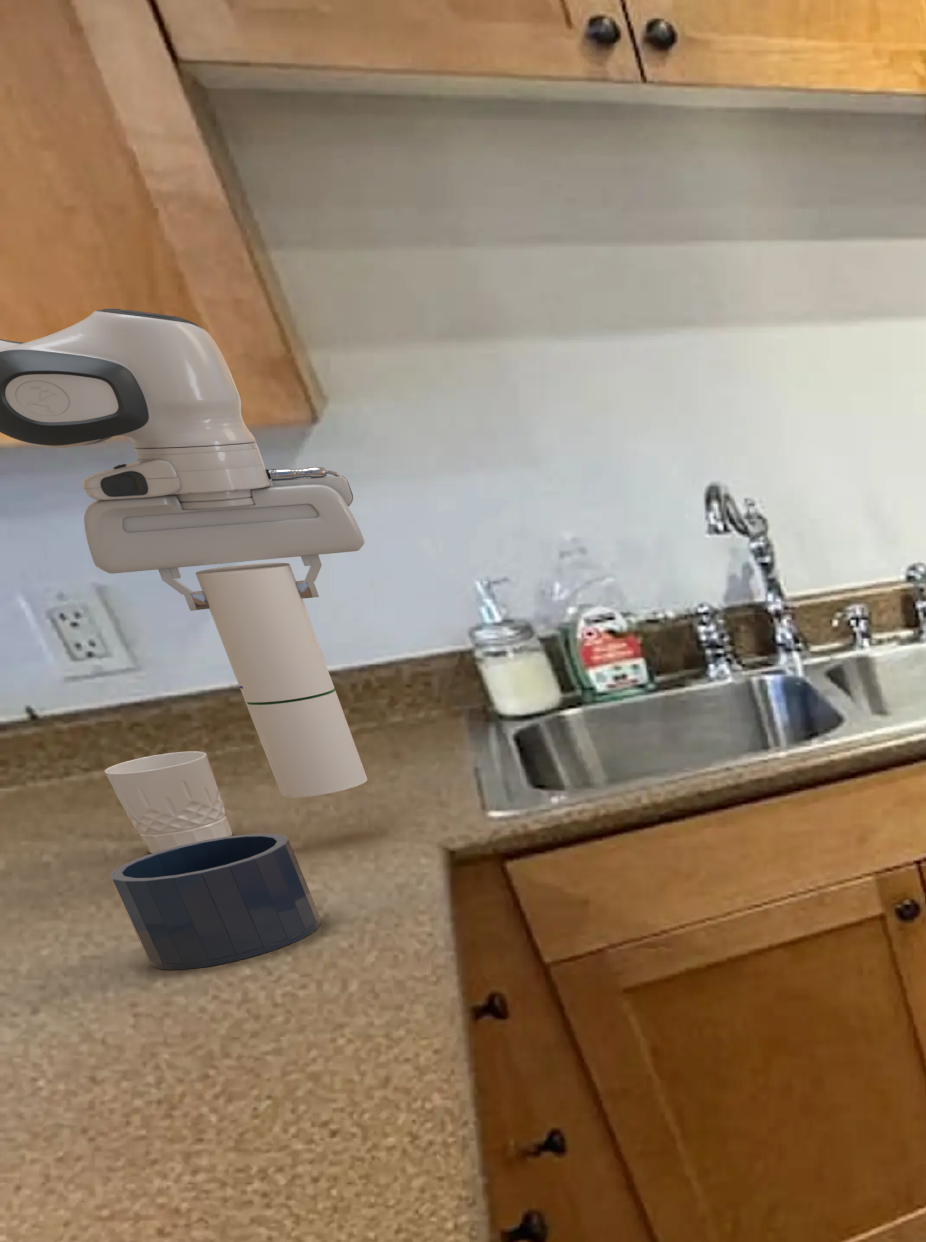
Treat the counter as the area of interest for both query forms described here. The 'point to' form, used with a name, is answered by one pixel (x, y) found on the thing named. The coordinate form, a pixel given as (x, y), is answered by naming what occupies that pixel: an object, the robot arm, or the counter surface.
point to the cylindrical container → (283, 678)
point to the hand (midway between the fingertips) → (255, 603)
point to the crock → (216, 900)
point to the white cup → (170, 799)
